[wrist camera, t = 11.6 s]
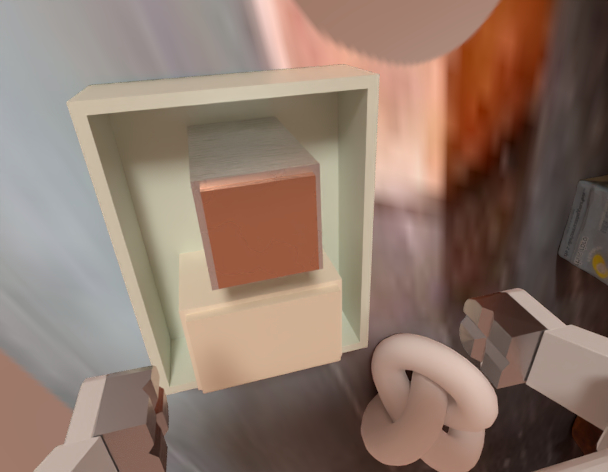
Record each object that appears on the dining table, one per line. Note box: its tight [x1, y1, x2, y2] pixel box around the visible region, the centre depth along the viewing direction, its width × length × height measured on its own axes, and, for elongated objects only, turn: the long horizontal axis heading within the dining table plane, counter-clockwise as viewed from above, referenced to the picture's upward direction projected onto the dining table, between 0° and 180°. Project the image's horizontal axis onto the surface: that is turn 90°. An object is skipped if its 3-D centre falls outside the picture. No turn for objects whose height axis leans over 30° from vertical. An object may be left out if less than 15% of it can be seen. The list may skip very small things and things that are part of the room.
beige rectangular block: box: [179, 247, 342, 394], centre depth 26 cm, size 9×6×7 cm, turn 93°
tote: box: [66, 64, 380, 395], centre depth 25 cm, size 14×18×5 cm
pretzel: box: [361, 333, 498, 472], centre depth 34 cm, size 11×12×9 cm
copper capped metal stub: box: [187, 116, 323, 291], centre depth 20 cm, size 5×5×9 cm
